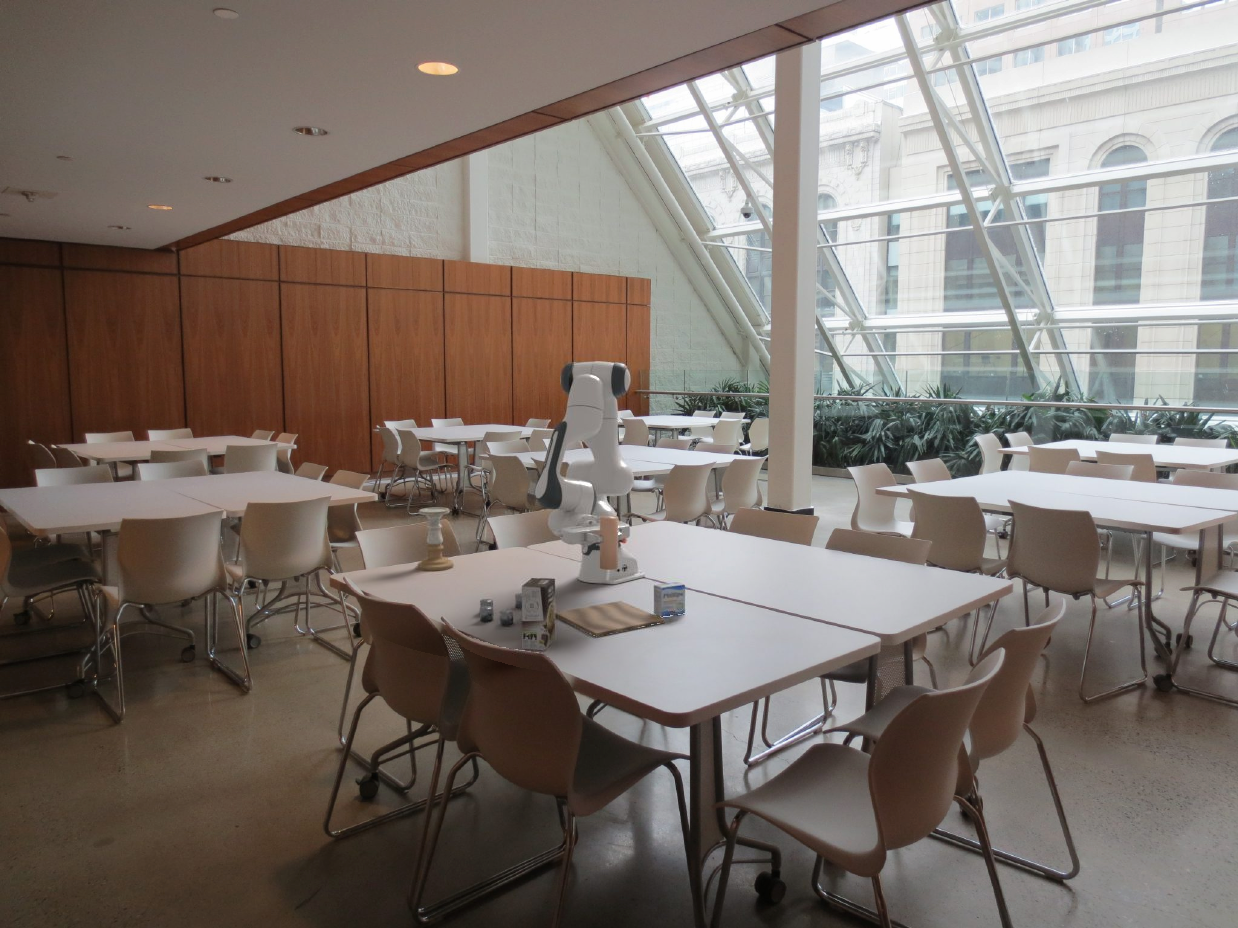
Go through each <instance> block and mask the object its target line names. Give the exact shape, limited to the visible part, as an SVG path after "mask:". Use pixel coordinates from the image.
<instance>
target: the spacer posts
mask: <svg viewBox="0 0 1238 928" xmlns="http://www.w3.org/2000/svg"><path fill="white" fill-rule="evenodd" d="M514 597H515V598H514V601H515V602H514V603H515V604H514V605H515V606H514V607H515V608H516V609H522V592H521V593H516V594H515V595H514ZM514 619H515V618H514V610H511V609H504V610H500V611H499V625H500V626H502V627H511V626H514V623H515V622H514ZM479 621H480V622H482V623H489V622H493V621H494V600H493V599H491V598H483V599H480V601H479Z"/></svg>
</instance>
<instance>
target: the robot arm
mask: <svg viewBox="0 0 1238 928" xmlns="http://www.w3.org/2000/svg"><path fill="white" fill-rule="evenodd" d="M559 380H560V385H561V389H562V391H563V392H564V393H565V395H568V399H567V404H566V411H565V416H564V418H563V420H562V421H559V422H558V423H557V424H556V425H555V427H554V429H553V431H552V433H551V436H550V439H549V443H548V447H547V451H546V453H545V458H544V462H543V465H542V469H541V472H540V474H539V478H538V479H537V481H536V484H535V488H534V498H535V500H536V502H537V503H538V505H539V506H540V507H541V508H542V509H545V510H553V511H551V512H550V513H549V515H548V519H547V524H548V527H549V530H550V531H551V532H552V533H553V534H554V535H555V537H559V538H560V539H561V541H562V542H563V543H564V544H567V545H571V546H573V545H581V562H580V563H581V564H580V568H579V573H578V576H577V579H578V580H579V581H581V582H585V583H592V584H607V585H618V584H621V583H625V582H628V581H629V582H630V581H633V580H634V581H635V580H638V579H641V578H645V577H646V574H645V572H644V571H643V570H641V569H639V565H638V560H637V558H636V557H635V556H634V555H633V554H632V553H630V552H629V551H628V550H627V549H625V548H624V547H623V546H622V544H626V543H627V542H628V538H630V536H631V526H630V524H628V523H626V522H624V521H621V520H618V568H617V569H613V570H605V569H601V568H600V542H603V536H602V535H600V517H601V516H617V513H616V511H615V509H614V508H613V506H611V505H610V503H609V502H608V498H607V497H619V496H626V495H627V494H629V493H630V492H631V490H632V488H633V487H634V483H635V476H634V472H633V470H632V469H631V467H629V466H628V464H627V463H626V461H625V460H624V458H623V455H622V453H621V449H620V445H619V436H618V435H619V434H618V433H619V432H618V431H619V430H618V429H619V428H618V427H619V426H618V425H619V423H618V422H619V407H618V400H620V398H621V397H624V396H625V395H626V393H627V392H628V391H629V387H630V385H631V373H630V370H629V368H628V366H627V365H626V364H625V363H621V362H617V361H616V362H609V361H600V360H599V361H597V360H596V361H584V362H576V361H574V362H568V363H566V364H565V365H564V366H563V367H562V369H561V373H560V379H559ZM579 441H580V442H581V441H583V443H584V444H585V445H586V447H588V449H590V451H591V454H592V456H593V459H579V460H575V461H572V462H571V463H570V464H569V465H568V467H567V470H566V474H565V476H562V475H561V469H562V465H563V461H564V458H565V457H564V456H565V454H566V451H567V448H568V446H569V445H570V444H572V443H575V442H579Z"/></svg>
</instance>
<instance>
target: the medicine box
mask: <svg viewBox="0 0 1238 928" xmlns="http://www.w3.org/2000/svg"><path fill="white" fill-rule="evenodd" d="M654 613H655V614H656V615H655V614H654ZM683 613H686V585H685V584H684V583H681V582H679V581H675V582H668V583H660V584H654V585H653V614H654V615H655V616H657V615H658V617H659V616H661V617H663V616H670V615H677V616H679V615H678V614H683ZM683 615H684V614H683ZM661 617H660V618H661Z"/></svg>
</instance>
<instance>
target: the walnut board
mask: <svg viewBox="0 0 1238 928" xmlns="http://www.w3.org/2000/svg"><path fill="white" fill-rule="evenodd" d="M555 618H557V619H559V620H562V621H563V622H566V623H568V624H569V625H571V624H572V625H571V626H573V627H575V626H576V627H575V628H577V627H578V628H577V629H578V630H579V629H580V630H581V629H582V630H581V631H583V630H584V631H583V632H585V631H586V632H585V633H587V632H588V633H587V634H589V633H591V634H592V635H591V634H590V635H591V636H593V635H595V636H599V637H603V636H602V635H604V636H608V635H607V634H609V635H611V634H610V633H614V634H617V633H616V632H619V633H622V632H621V631H624V632H626V631H625V630H629V631H632V630H631V629H634V630H637V629H636V628H638V627H642V626H648V627H650V626H649V625H651V624H657V623H663V622H665V623H666V619H665V618H661V617H659V616H657V615H655V614H654V613H650V612H648V611H646V610H644V609H640V608H639V607H636V606H633V605H632V604H629V603H626V602H624V601H622V600H618V601H612V602H608V603H602V604H596V605H595V604H594V605H590V606H584V607H579V608H574V609H568V610H561V611H557V612H556V611H555ZM663 624H664V623H663ZM638 629H639V628H638ZM595 636H594V637H595Z"/></svg>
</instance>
